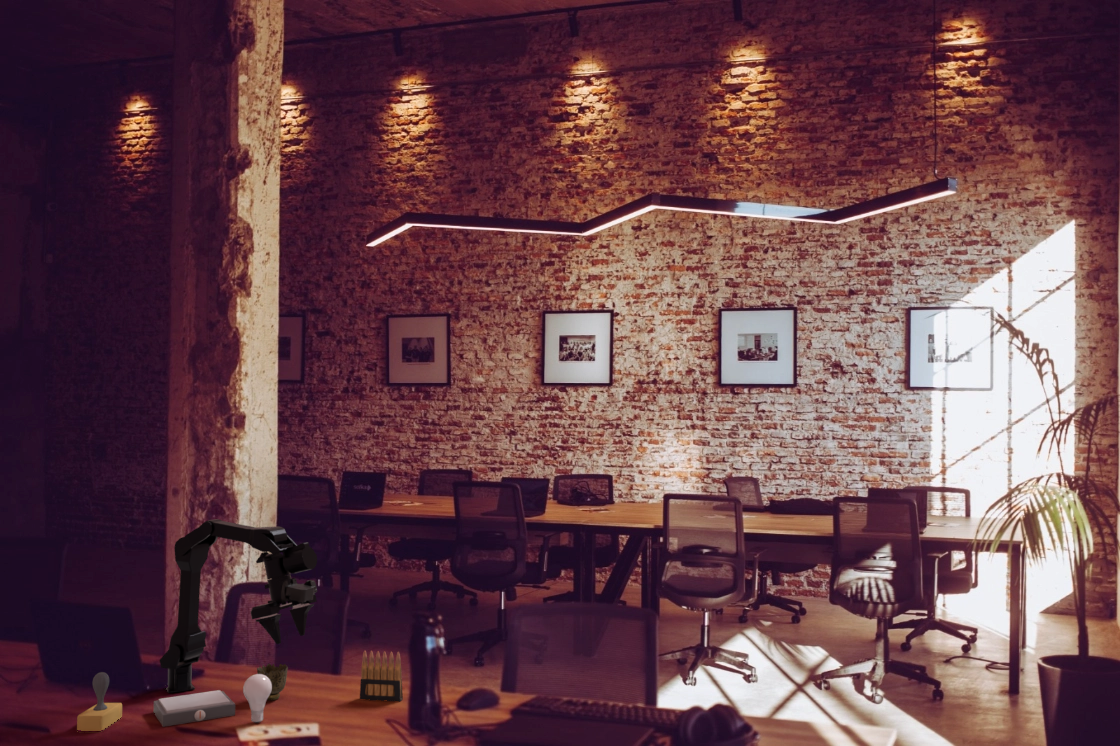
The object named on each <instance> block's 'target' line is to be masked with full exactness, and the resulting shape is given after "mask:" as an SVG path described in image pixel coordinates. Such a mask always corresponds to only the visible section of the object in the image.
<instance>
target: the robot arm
mask: <svg viewBox="0 0 1120 746" xmlns="http://www.w3.org/2000/svg"><path fill="white" fill-rule="evenodd" d="M218 538H221V539H226V540H229V541H235V542H240V543H244V544H248V545H250V547H251V548H253V549H255V550H257V551H259V552H260V555H259V557H258V558H257V559H256V561H255V562H256V564H261V563H263V564H264V565H263V566H264V569H265V570H264V571H265V574H266V579H267V584H264V588H265V590H267V589H268V591H269V595H270V600H267V603H264V604H260V605H256V606H253V607H252V608H251V610H250V616H251V620H254V619H255V622H256V623H259V624H260V626H262V627H263V628H264V630H265V631H266V632H267V633H268V634H269V636H270V637H271V639H272V640H273V641H274V642H275V644H277V645H280V644H282V640H281V639H282V636H281V630H280V622H279V621H280V619H281V617H282V613H280V611H282V610H284V609H288V608H291V609H289V613H290V615H291V618H292V620H293V622H294V625H295V628H296V630H297V632H298V633H299V635H300V637H303V636H305V635H306V634H305V633H306V628H307V627H306V625H307V619H308V614H309V611H310V610H311V608H313V607H314V605H315V603H316V602H317V601H318V600H317V595H316V593H318V589H317V584H316V581H315V580H312V579H310V580H305V582H304V583H298V582H297V579H296V577H292V576H291V575H292V574H298V573H302V572H306V571H311V570H313V569H315V568H316V566H317V564H318V556H317V553H316V552H315V550H314V549H313V548H312V547H311V546H310V543H309V542H307V541H306V542H302V543H299V544H297V543H296V542H295V541H294V540H293V539H292V538H291V537H290V536H289V535H288V533H287V532H286V529H285V528H284V527H282V526H262V527H261V526H259V527H255V526H250V525H245V524H240V523H235V522H229V521H225V520H221V519H219V518H217V519H215V518H214V519H208V520H206V521H204V522H203V523H202V524H200V525H199V526H198V527H196V528H195V529H193V530H191V531H190V532H188V533H187V534H186V535H185V536H183V537H179V538H178V539H177V541H175V543H174V549H173V550H174V559H175V562H176V564H177V566H178V569H179V570H180V576H179V577H180V578H179V594H178V609H177V612H178V613H177V626H176V628H175V630H174V631H173V633H172V635H171V637H170V641H169V645H168V649H167V651H166V652H165V653H164V654H163V655H162V657H161V658H160V659H159V663H160V664H159V665H160V667H161V669H167V685H168V687H167V688H166V689H165V690H167V691H166V692H167V693H168V694H174V693H179V692H186V691H193V690H194V691H195V689H196V687H195V686H194V685H193V683H192V677H193V676H192V673H193V671H192V668H193V667H192V666H193V664H194V663H198V662H199V661H200V658H201V654H203V652H204V649H205V647H206V646H207V644H206V638H207V632H206V631H205V630H203V631H202V629H201V627H200V626H199V610H200V593H201V575H202V574H201V572H202V569H203V567H204V565H205V563H206V562H207V560H208V557H209V551H210V548H211V547H212V546H213V545H214V544H215V543H216V542H217V540H218Z"/></svg>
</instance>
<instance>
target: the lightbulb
mask: <svg viewBox="0 0 1120 746" xmlns="http://www.w3.org/2000/svg"><path fill="white" fill-rule="evenodd" d="M271 691H272V684H271V681H270V679H269V678H268V677H267V676H265V675H263V674H257V673H256V674H253V675H250V676H249V677H248V678H247V679H246V680H245V681H244V683H243V688H242V693H243V695H244V697H245V699H246V700H247V702H248V705H249V708H250V712H251V714H250V715H251V716H250V719H251V720H250V721H251V722H252V723H255V724H260V723H261V722H262V721H263V720H264V709H265V707H266V702H267V701H268V700H267V699H268V697H269V695H270V693H271Z"/></svg>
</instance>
